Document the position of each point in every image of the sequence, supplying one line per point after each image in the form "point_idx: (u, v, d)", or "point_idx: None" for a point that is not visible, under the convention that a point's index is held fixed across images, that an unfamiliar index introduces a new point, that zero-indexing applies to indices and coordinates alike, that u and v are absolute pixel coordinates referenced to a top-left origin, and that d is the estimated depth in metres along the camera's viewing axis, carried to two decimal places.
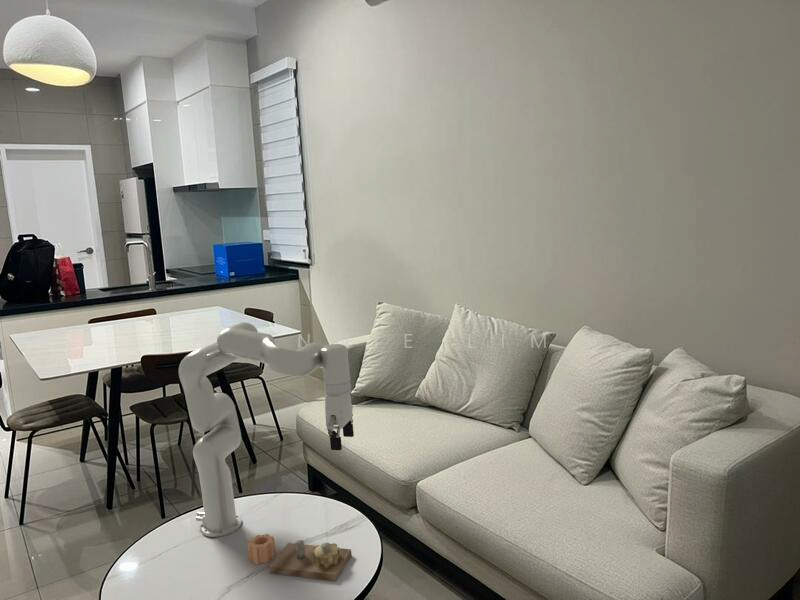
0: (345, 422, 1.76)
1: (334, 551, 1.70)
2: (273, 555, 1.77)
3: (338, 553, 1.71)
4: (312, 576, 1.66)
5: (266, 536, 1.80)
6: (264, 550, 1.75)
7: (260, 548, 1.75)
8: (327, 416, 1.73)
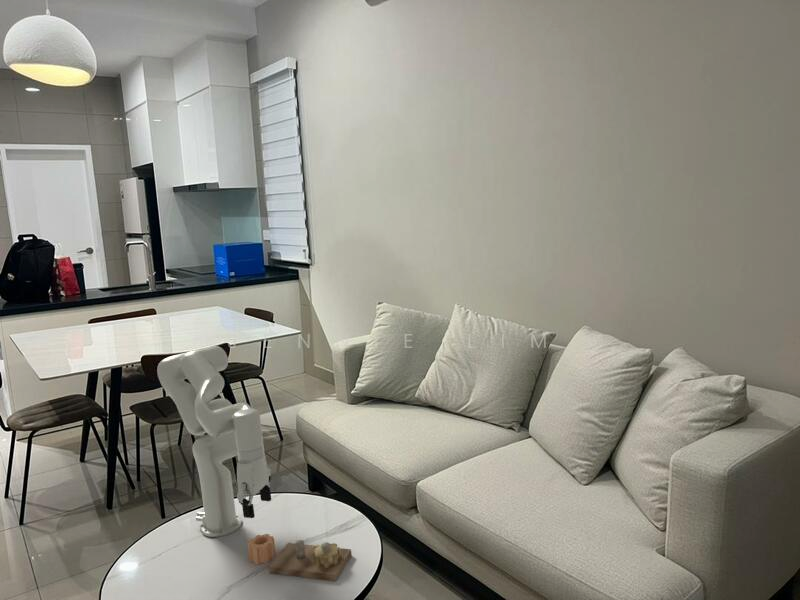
0: (258, 488, 1.72)
1: (334, 551, 1.70)
2: (273, 555, 1.77)
3: (338, 553, 1.71)
4: (312, 576, 1.66)
5: (266, 536, 1.80)
6: (264, 550, 1.75)
7: (260, 548, 1.75)
8: (239, 483, 1.70)
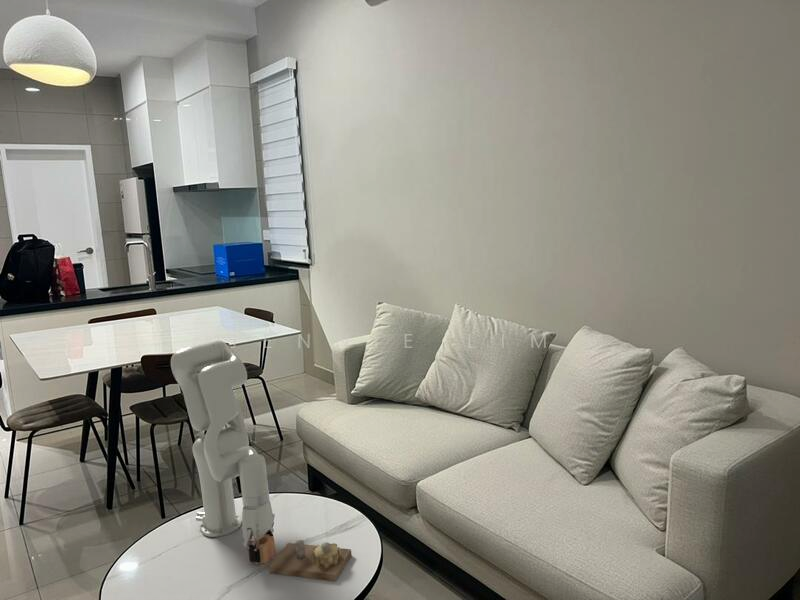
0: (263, 533, 1.75)
1: (334, 551, 1.70)
2: (273, 555, 1.77)
3: (338, 553, 1.71)
4: (312, 576, 1.66)
5: (266, 536, 1.80)
6: (264, 550, 1.75)
7: (260, 548, 1.75)
8: (244, 528, 1.72)
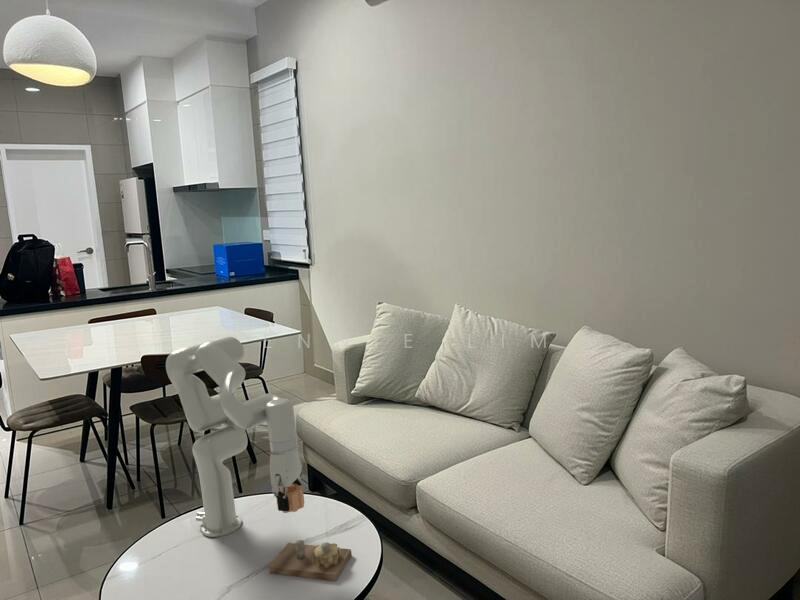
0: (292, 480, 1.68)
1: (334, 551, 1.70)
2: (302, 504, 1.70)
3: (338, 553, 1.71)
4: (312, 576, 1.66)
5: (294, 485, 1.73)
6: (293, 498, 1.67)
7: (289, 496, 1.67)
8: (272, 475, 1.65)
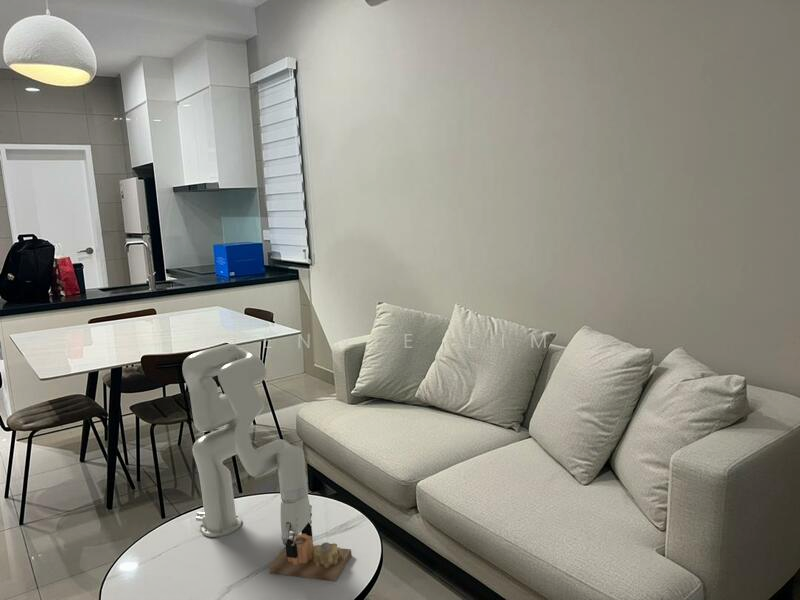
0: (302, 527, 1.70)
1: (334, 551, 1.70)
2: (312, 555, 1.72)
3: (338, 553, 1.71)
4: (312, 576, 1.66)
5: (304, 536, 1.75)
6: (303, 550, 1.70)
7: (299, 548, 1.70)
8: (282, 523, 1.67)
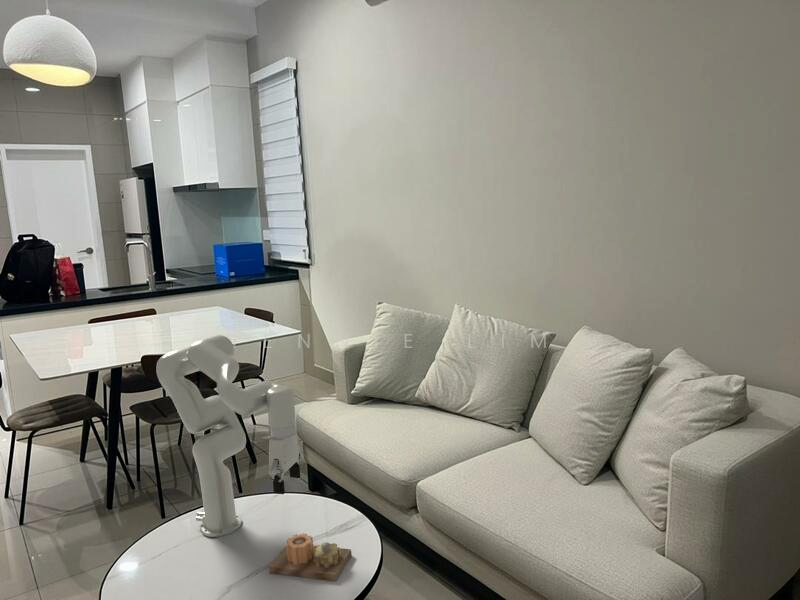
0: (289, 465, 1.73)
1: (334, 551, 1.70)
2: (312, 555, 1.72)
3: (338, 553, 1.71)
4: (312, 576, 1.66)
5: (304, 536, 1.75)
6: (303, 550, 1.70)
7: (299, 548, 1.70)
8: (270, 459, 1.70)
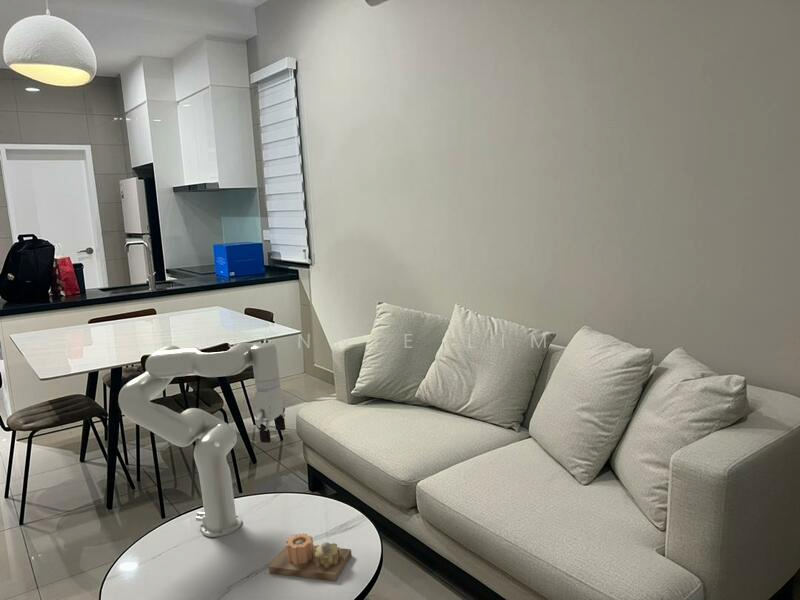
0: (274, 416, 1.87)
1: (334, 551, 1.70)
2: (312, 555, 1.72)
3: (338, 553, 1.71)
4: (312, 576, 1.66)
5: (304, 536, 1.75)
6: (303, 550, 1.70)
7: (299, 548, 1.70)
8: (256, 410, 1.84)
